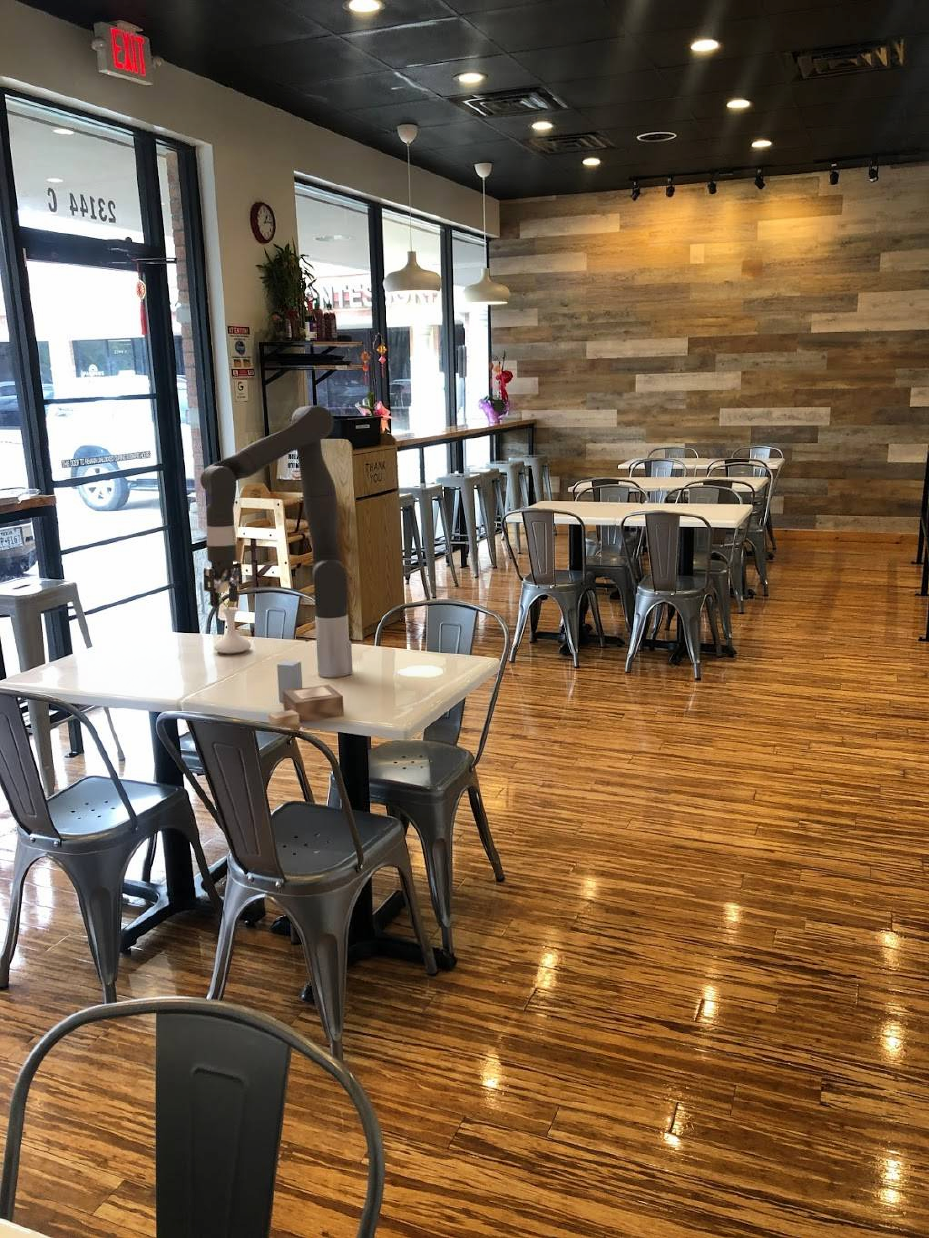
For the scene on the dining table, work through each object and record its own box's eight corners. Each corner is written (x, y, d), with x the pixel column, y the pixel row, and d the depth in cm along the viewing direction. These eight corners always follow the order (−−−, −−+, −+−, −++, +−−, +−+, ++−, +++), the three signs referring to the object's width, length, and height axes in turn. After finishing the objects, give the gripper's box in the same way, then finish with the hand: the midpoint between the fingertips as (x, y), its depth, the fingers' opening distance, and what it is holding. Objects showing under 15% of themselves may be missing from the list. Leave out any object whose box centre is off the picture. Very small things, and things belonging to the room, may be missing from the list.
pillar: (288, 696, 278) (285, 660, 276) (303, 698, 276) (300, 661, 274) (279, 701, 274) (277, 664, 272) (294, 703, 272) (292, 665, 270)
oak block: (293, 725, 254) (292, 709, 253) (299, 729, 250) (298, 713, 250) (269, 730, 251) (268, 714, 250) (276, 734, 247) (275, 718, 246)
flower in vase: (253, 647, 335) (248, 569, 330) (248, 655, 324) (243, 575, 319) (212, 648, 335) (206, 571, 329) (205, 657, 323) (199, 577, 318)
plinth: (329, 703, 271) (328, 683, 270) (343, 715, 260) (342, 695, 259) (284, 709, 266) (282, 690, 265) (296, 722, 256) (295, 702, 255)
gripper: (217, 546, 267) (221, 609, 270) (248, 540, 280) (251, 600, 283) (193, 545, 269) (196, 607, 272) (224, 539, 282) (227, 599, 285)
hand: (224, 604), depth 277 cm, fingers open, 8 cm apart
